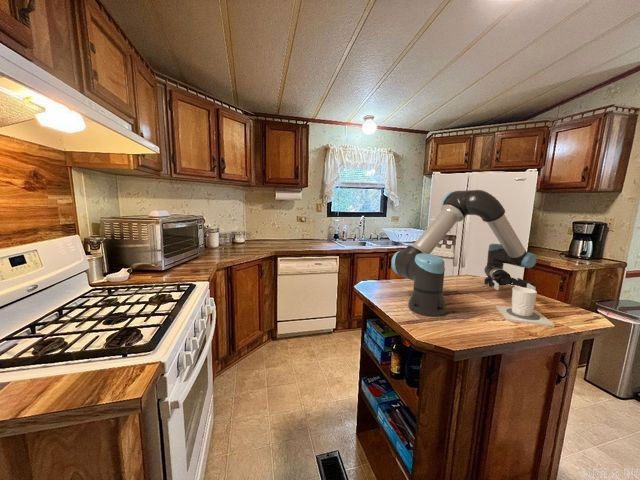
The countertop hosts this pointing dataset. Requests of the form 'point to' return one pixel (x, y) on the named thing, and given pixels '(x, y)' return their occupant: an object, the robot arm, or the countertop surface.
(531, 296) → the white cup
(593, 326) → the countertop surface
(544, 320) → the trivet
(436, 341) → the countertop surface
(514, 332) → the countertop surface
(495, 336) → the countertop surface
